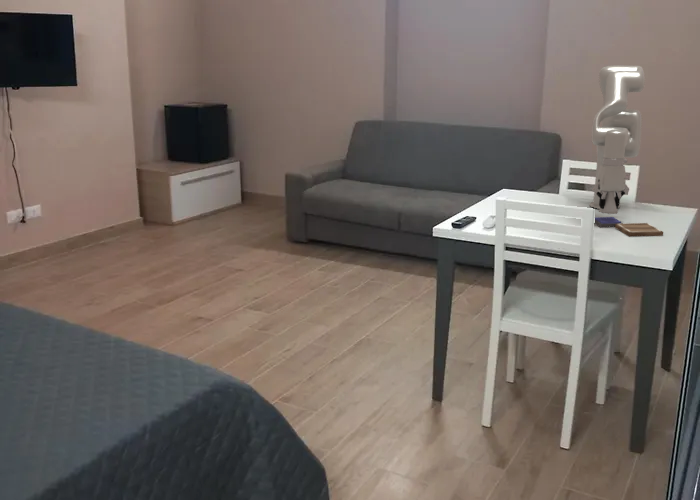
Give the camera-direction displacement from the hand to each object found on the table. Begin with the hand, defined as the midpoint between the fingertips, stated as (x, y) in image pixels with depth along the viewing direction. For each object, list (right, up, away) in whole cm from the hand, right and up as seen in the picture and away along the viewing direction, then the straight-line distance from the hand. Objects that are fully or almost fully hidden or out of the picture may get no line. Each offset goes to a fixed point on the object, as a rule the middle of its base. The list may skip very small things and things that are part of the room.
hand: (608, 207), depth 283 cm
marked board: (+8, -10, -8) cm, 15 cm away
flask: (0, -2, +1) cm, 2 cm away
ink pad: (0, -7, +2) cm, 7 cm away
